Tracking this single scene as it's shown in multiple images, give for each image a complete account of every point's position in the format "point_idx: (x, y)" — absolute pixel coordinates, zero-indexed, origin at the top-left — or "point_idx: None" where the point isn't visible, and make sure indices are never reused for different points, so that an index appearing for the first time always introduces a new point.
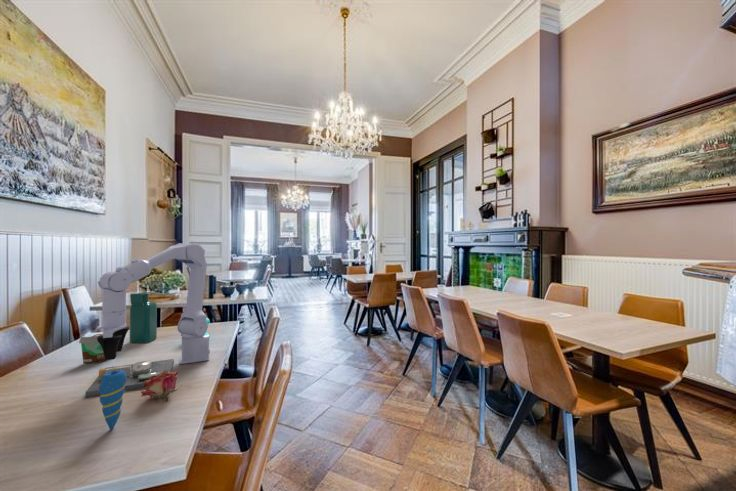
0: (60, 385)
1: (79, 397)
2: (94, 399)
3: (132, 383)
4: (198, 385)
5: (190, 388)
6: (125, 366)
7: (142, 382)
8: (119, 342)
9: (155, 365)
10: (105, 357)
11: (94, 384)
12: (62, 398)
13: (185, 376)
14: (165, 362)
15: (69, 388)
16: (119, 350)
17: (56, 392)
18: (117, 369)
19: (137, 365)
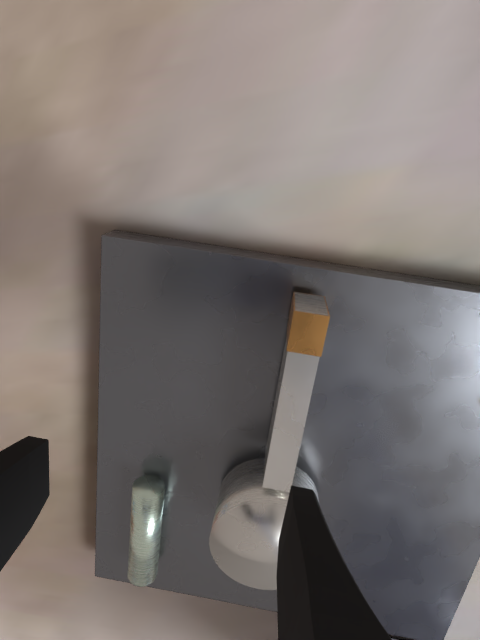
0: (473, 25)
1: (131, 198)
2: (60, 276)
3: (117, 449)
4: (32, 631)
5: (12, 606)
6: (288, 462)
7: (108, 487)
8: (288, 627)
9: (379, 561)
10: (5, 450)
11: (219, 270)
12: (166, 101)
13: (170, 618)
14: (400, 605)
15: (348, 108)
16: (279, 540)
17: (315, 33)
18: (275, 414)
19: (238, 524)
